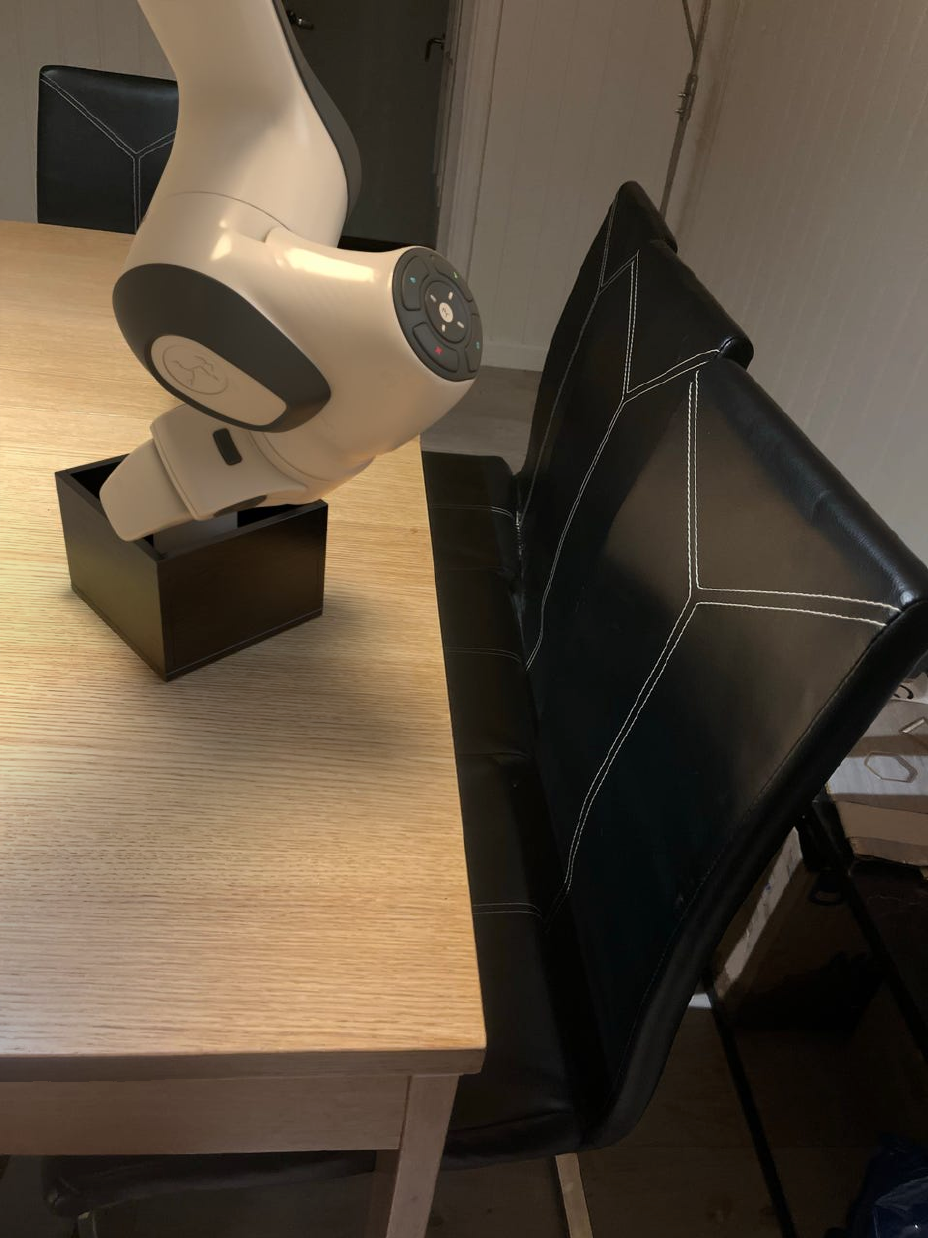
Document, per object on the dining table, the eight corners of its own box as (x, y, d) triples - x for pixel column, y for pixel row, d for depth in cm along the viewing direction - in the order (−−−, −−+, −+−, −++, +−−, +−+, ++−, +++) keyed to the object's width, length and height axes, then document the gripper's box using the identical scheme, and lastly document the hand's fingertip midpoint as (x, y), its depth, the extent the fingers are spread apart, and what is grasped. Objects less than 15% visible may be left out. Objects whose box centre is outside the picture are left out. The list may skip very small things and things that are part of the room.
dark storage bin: (166, 683, 67) (156, 562, 61) (71, 588, 75) (53, 471, 68) (322, 615, 76) (328, 503, 70) (224, 536, 84) (221, 429, 77)
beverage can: (151, 578, 76) (140, 448, 69) (228, 567, 79) (225, 441, 71) (165, 623, 72) (155, 489, 64) (247, 610, 74) (245, 480, 67)
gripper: (390, 355, 64) (296, 429, 75) (131, 421, 51) (60, 500, 61) (428, 436, 65) (330, 499, 75) (181, 523, 51) (103, 585, 62)
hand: (207, 500), depth 68 cm, fingers open, 8 cm apart
